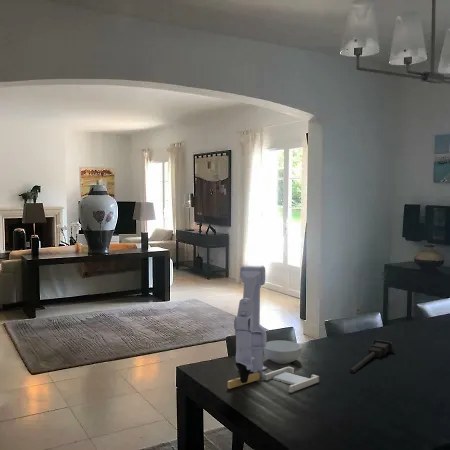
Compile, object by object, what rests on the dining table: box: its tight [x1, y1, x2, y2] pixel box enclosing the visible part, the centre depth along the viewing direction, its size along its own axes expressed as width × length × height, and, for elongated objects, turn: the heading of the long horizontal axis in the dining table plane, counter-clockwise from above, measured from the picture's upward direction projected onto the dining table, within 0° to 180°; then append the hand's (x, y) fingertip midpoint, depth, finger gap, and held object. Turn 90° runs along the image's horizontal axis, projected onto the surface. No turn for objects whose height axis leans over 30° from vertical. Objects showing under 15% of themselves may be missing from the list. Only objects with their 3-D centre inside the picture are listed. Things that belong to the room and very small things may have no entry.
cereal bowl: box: [263, 339, 302, 365], centre depth 225 cm, size 17×17×7 cm
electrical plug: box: [349, 339, 394, 374], centre depth 226 cm, size 9×42×5 cm, turn 143°
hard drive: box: [272, 372, 310, 386], centre depth 202 cm, size 2×8×12 cm
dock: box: [256, 365, 320, 393], centre depth 201 cm, size 19×17×2 cm
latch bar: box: [227, 370, 263, 390], centre depth 198 cm, size 17×2×3 cm, turn 129°
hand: (244, 382), depth 195 cm, fingers closed
